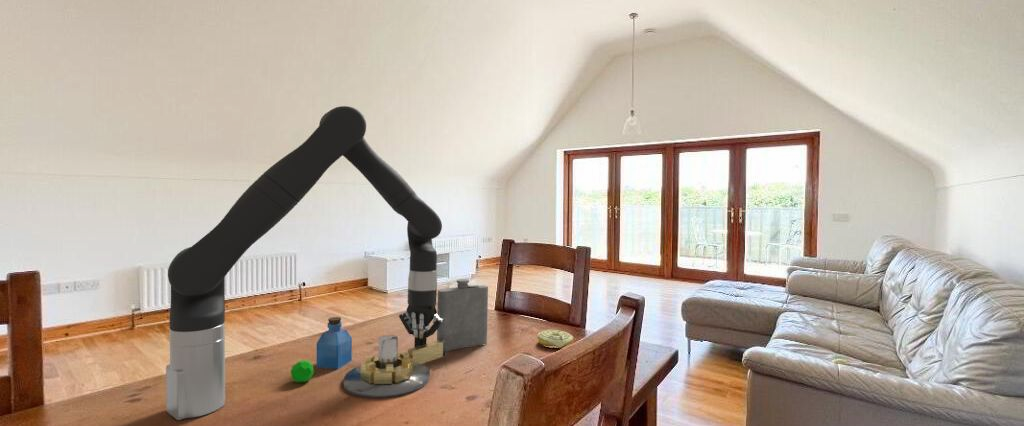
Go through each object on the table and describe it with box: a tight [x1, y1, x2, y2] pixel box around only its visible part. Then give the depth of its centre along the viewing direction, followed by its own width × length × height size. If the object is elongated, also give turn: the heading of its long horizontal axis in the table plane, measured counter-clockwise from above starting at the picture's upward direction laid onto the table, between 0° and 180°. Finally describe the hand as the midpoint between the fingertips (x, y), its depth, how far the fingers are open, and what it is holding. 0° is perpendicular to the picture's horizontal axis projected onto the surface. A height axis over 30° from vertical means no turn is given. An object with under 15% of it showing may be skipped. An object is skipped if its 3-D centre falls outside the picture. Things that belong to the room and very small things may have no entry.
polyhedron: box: [290, 359, 315, 384], centre depth 106 cm, size 5×5×5 cm
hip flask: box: [436, 278, 489, 352], centre depth 132 cm, size 16×4×20 cm, turn 121°
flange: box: [343, 334, 431, 399], centre depth 107 cm, size 20×20×10 cm
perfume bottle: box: [316, 316, 353, 370], centre depth 117 cm, size 6×6×12 cm
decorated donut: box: [537, 329, 574, 350], centre depth 136 cm, size 10×11×4 cm
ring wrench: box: [360, 339, 447, 384], centre depth 112 cm, size 24×12×4 cm, turn 140°
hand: (420, 350), depth 119 cm, fingers closed
